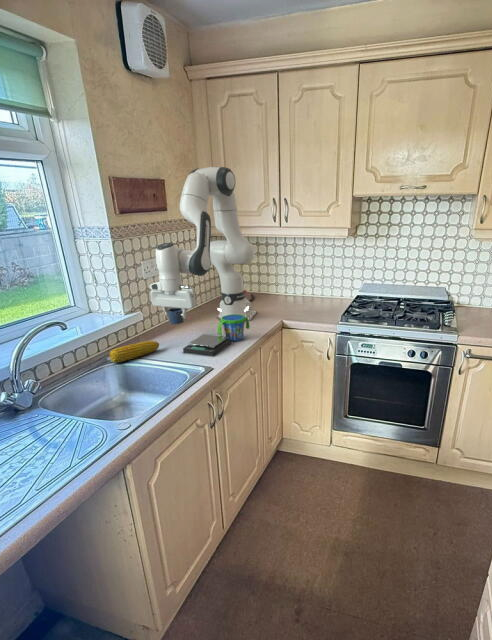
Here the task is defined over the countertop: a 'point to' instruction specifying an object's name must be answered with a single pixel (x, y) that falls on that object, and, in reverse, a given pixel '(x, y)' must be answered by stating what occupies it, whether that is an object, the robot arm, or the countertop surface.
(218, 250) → the robot arm
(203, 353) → the scale
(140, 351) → the food
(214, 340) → the scale pan
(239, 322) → the snack cup
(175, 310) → the dark blue faceted pot
